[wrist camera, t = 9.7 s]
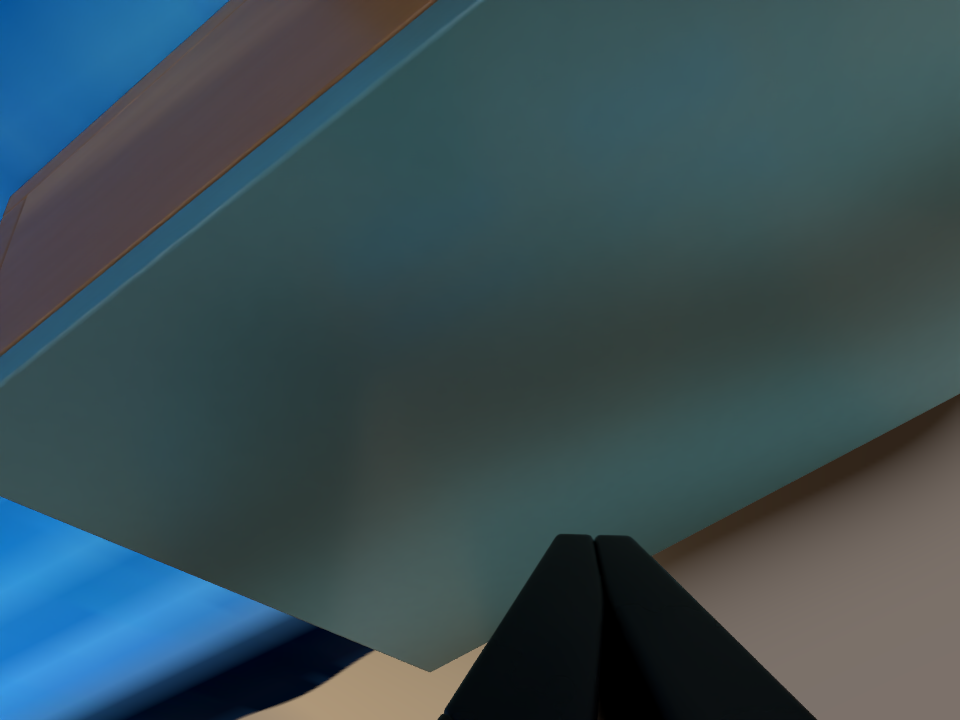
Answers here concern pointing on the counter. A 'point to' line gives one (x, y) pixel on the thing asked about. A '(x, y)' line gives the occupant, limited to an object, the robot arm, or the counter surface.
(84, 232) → the toy box
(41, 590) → the counter surface
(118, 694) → the counter surface
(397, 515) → the lid
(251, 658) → the counter surface
